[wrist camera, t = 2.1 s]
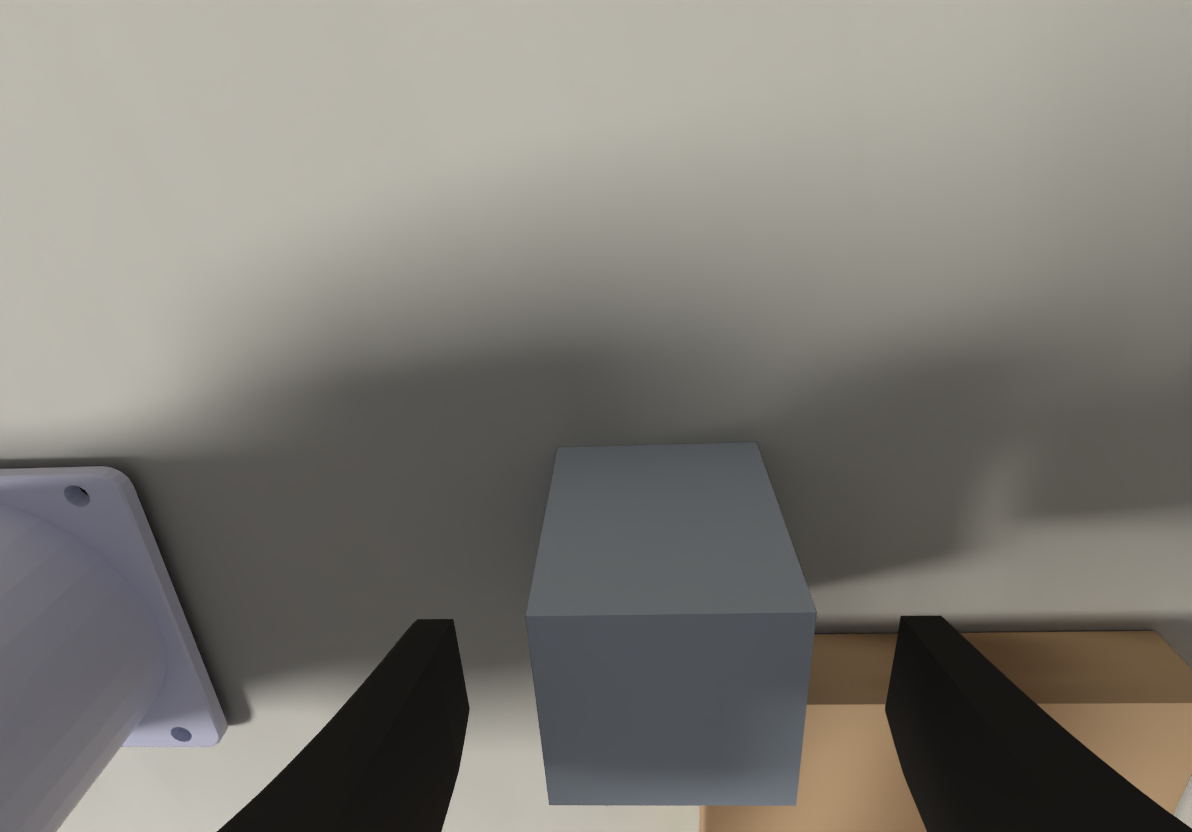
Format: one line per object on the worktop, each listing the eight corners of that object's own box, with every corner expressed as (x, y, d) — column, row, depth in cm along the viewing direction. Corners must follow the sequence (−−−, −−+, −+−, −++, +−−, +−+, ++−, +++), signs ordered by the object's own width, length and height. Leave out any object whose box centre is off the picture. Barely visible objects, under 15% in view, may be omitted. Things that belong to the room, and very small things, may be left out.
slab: (698, 896, 20) (705, 975, 19) (703, 635, 16) (712, 705, 14) (1052, 901, 20) (1095, 983, 18) (1155, 630, 16) (1224, 703, 14)
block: (571, 600, 16) (549, 804, 11) (557, 446, 14) (525, 616, 10) (747, 598, 16) (795, 805, 11) (755, 441, 14) (816, 612, 10)
